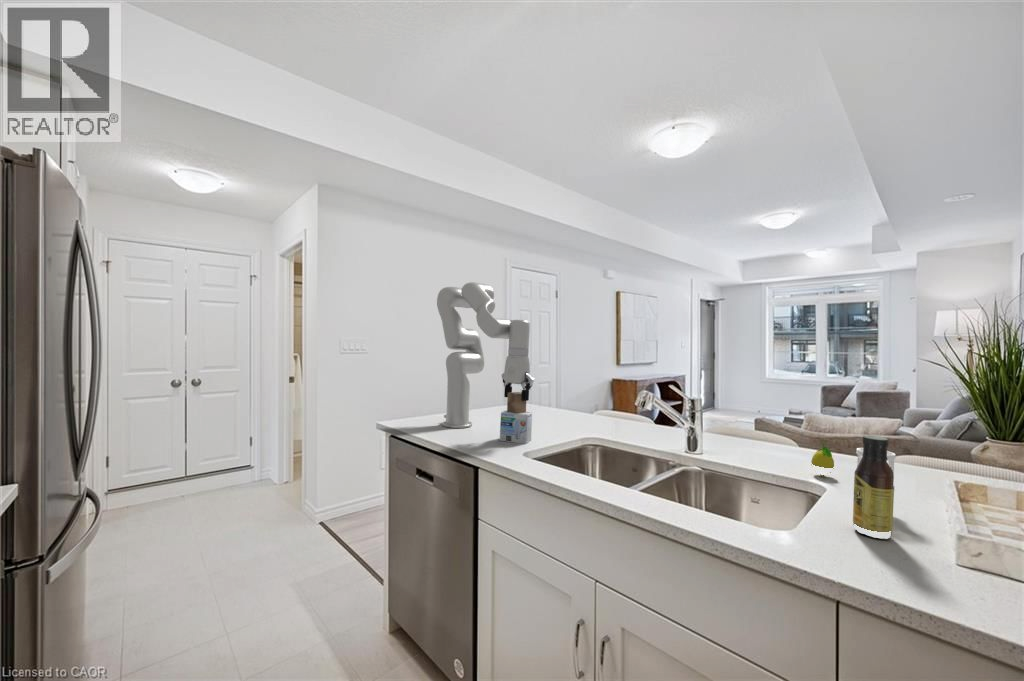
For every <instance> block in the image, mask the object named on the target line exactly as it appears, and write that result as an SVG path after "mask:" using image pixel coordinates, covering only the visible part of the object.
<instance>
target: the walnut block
mask: <svg viewBox="0 0 1024 681" xmlns="http://www.w3.org/2000/svg"><path fill="white" fill-rule="evenodd" d="M521 393H522V391H520V392H519V391H512V392H509V393H508V397H506V398H507V401H506V402H507V405H506V410H507V411H508V412H512V413H523V412H527V401H521Z"/></svg>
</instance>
